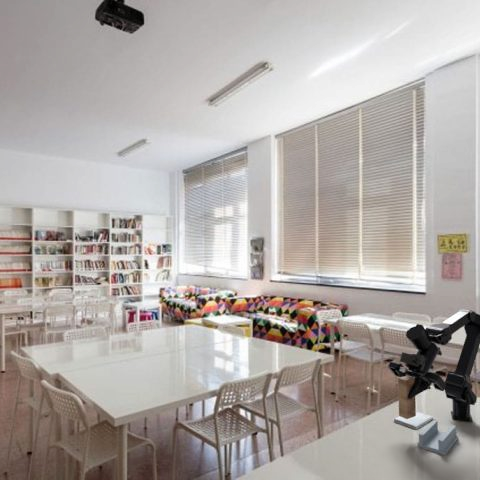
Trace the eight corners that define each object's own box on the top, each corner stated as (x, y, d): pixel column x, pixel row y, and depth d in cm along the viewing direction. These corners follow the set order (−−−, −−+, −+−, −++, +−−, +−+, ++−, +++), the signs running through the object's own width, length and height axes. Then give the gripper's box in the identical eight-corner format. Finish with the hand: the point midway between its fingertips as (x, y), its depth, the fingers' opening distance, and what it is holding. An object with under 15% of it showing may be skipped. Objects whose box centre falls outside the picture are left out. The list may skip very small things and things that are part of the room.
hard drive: (415, 426, 137) (433, 416, 145) (393, 418, 144) (411, 409, 151) (415, 431, 137) (433, 420, 145) (393, 423, 144) (411, 413, 151)
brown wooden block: (407, 412, 134) (407, 375, 135) (415, 416, 132) (414, 378, 132) (399, 415, 132) (398, 377, 132) (406, 419, 130) (405, 380, 130)
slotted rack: (432, 431, 136) (432, 419, 136) (458, 438, 130) (457, 426, 130) (417, 446, 126) (417, 433, 126) (444, 455, 120) (444, 441, 120)
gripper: (390, 338, 142) (369, 374, 137) (439, 349, 126) (417, 391, 121) (405, 356, 146) (385, 393, 141) (454, 370, 130) (434, 411, 124)
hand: (404, 396), depth 131 cm, fingers closed on brown wooden block, 3 cm apart
